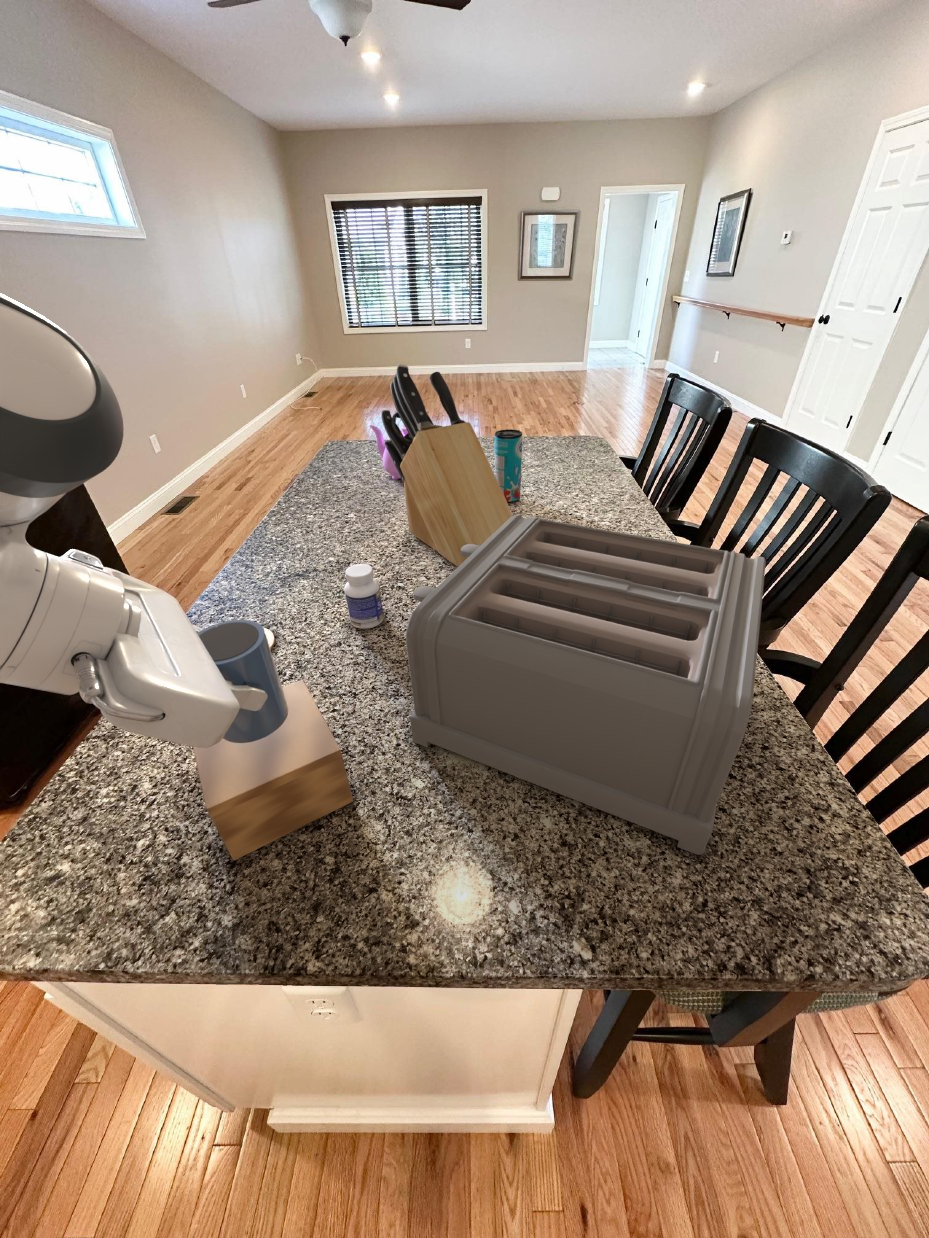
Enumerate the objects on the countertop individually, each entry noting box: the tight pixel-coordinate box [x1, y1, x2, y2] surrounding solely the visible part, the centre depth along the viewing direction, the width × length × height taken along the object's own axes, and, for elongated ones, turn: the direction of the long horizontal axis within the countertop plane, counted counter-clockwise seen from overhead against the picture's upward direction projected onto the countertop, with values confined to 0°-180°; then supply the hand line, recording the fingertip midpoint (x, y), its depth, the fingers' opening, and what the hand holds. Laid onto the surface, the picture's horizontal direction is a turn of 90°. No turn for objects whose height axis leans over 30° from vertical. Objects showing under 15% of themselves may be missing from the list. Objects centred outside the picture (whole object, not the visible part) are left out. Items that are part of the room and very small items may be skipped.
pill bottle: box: [343, 563, 385, 630], centre depth 78 cm, size 5×5×9 cm
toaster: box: [405, 514, 767, 856], centre depth 60 cm, size 31×36×17 cm
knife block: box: [380, 364, 514, 568], centre depth 93 cm, size 11×35×31 cm, turn 33°
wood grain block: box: [192, 678, 354, 861], centre depth 53 cm, size 12×12×8 cm
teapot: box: [369, 424, 408, 480], centre depth 131 cm, size 20×14×12 cm
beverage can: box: [494, 428, 523, 505], centre depth 114 cm, size 6×6×15 cm
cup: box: [197, 619, 288, 743], centre depth 46 cm, size 6×6×9 cm
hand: (246, 675), depth 46 cm, fingers closed on cup, 6 cm apart
